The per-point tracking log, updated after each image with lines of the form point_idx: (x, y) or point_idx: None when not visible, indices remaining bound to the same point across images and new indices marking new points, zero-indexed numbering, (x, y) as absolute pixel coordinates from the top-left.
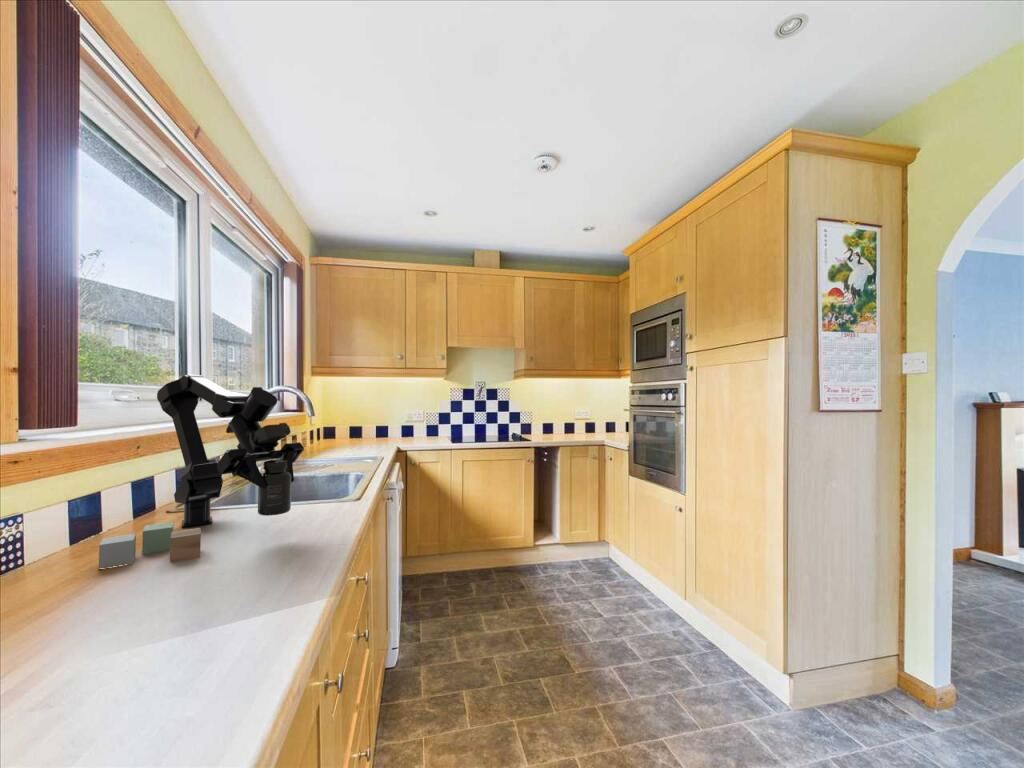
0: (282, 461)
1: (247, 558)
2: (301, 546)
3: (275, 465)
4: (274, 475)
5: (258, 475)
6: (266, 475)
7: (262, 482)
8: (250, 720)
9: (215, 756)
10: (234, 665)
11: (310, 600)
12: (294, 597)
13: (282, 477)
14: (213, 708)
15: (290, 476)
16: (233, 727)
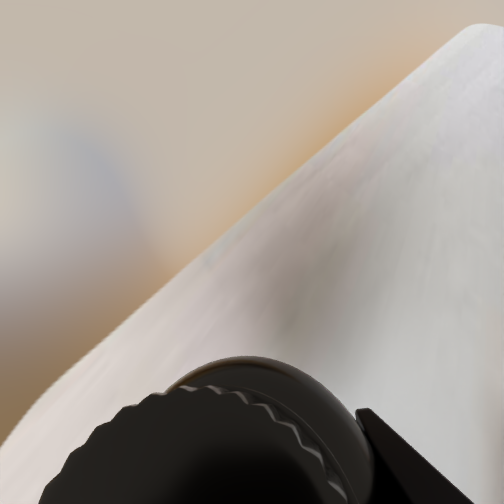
0: (161, 406)
1: (395, 352)
2: (263, 322)
3: (273, 408)
4: (301, 386)
5: (455, 493)
6: (359, 459)
7: (392, 431)
8: (469, 36)
9: (493, 25)
10: (474, 76)
11: (368, 127)
12: (381, 142)
13: (247, 358)
14: (494, 49)
15: (168, 388)
16: (481, 35)
